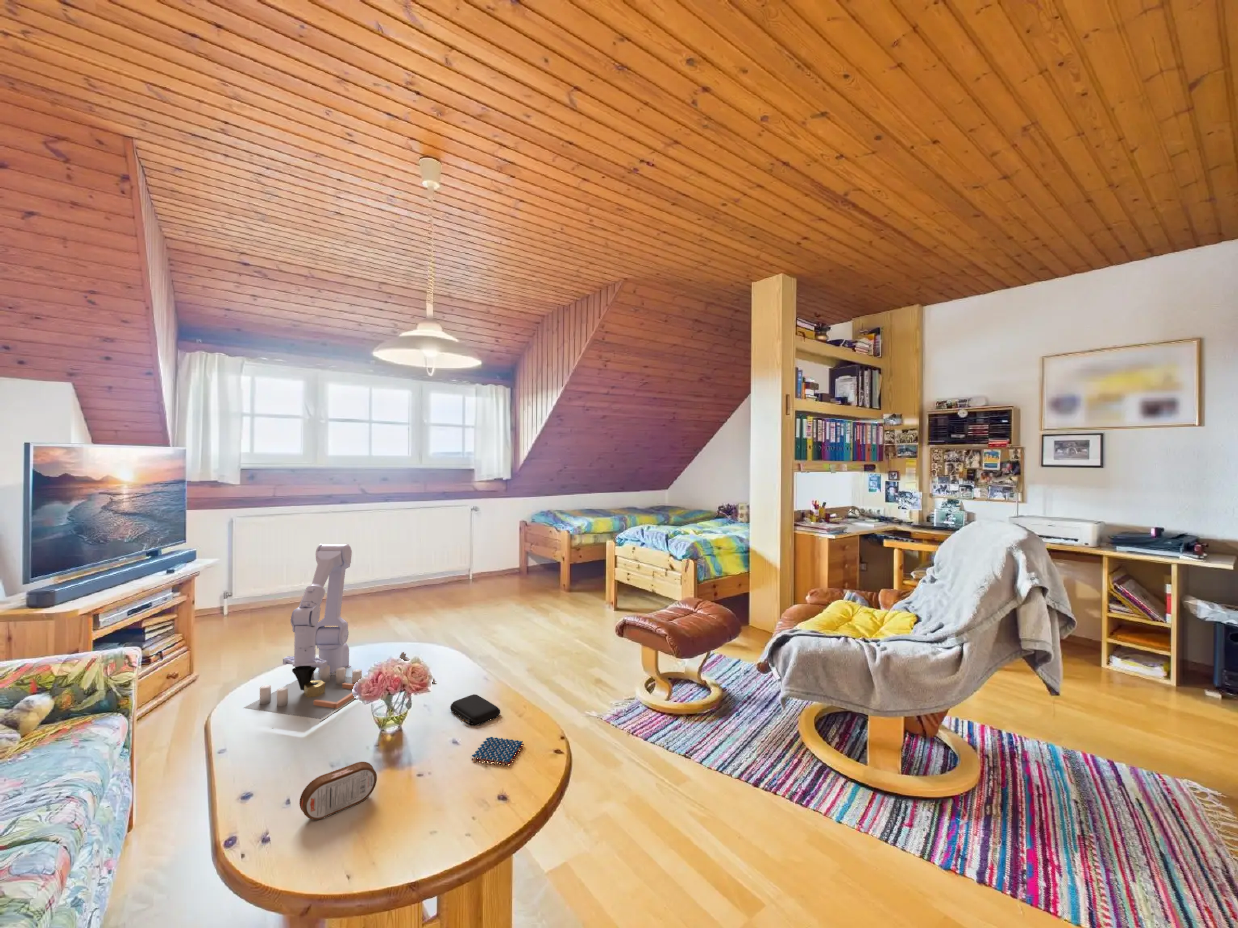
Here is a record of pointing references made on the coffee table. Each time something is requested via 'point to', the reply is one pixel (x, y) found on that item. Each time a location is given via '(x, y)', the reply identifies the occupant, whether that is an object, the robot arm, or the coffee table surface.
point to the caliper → (403, 656)
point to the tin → (338, 790)
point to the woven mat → (498, 750)
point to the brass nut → (314, 688)
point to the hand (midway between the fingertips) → (304, 688)
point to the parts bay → (340, 702)
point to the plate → (300, 705)
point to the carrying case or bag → (474, 709)
